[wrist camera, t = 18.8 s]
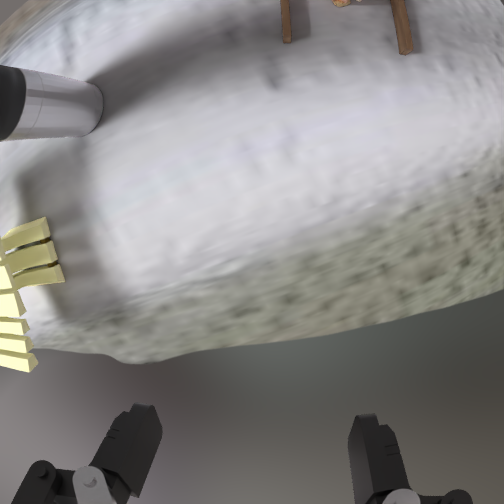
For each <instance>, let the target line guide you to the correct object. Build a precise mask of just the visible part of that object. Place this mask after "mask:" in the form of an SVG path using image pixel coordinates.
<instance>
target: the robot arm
mask: <svg viewBox="0 0 504 504" xmlns="http://www.w3.org/2000/svg"><path fill="white" fill-rule="evenodd" d="M102 111H103V97H102V93H101V92H100V90H99V89H98V88H97V87H96V86H95V85H93V84H90V83H86V82H82V81H79V80H75V79H71V78H66V77H62V76H57V75H53V74H48V73H43V72H38V71H33V70H27V69H21V68H15V67H8V66H3V65H0V142H2V141H12V140H22V139H37V138H59V137H82V136H85V135H87V134H88V133H90V132H91V131H92V130H93V129H94V128H95V127H96V125H97V123H98V122H99V120H100V117H101V115H102ZM161 439H162V425H161V423H160V420H159V418H158V415H157V412H156V410H155V407H154V406H153V405H149V404H144V403H138V402H136V403H134V404H133V406H132V408H131V410H130V412H125V411H124V412H122V413H121V414H120V415H119V416H118V417H117V418H115V420H114V421H113V423H112V425H111V427H110V430H109V431H108V432H107V434H106V437H105V438H104V440H103V441H102V443H101V445H100V447H99V449H98V451H97V453H96V455H95V456H94V458H93V460H92V462H91V463H90V464H89V465H88V466H84V467H81V468H79V469H78V470H77V471H71V470H62V469H56V468H55V467H54V466H53V465H52V464H51V463H50V462H48V461H45V460H40V461H37V462H35V463H33V464H32V466H31V467H30V469H29V471H28V472H27V474H26V476H25V478H24V480H23V481H22V483H21V486H20V487H19V489H18V491H17V493H16V495H15V497H14V499H13V501H12V503H11V504H128V499H129V497H130V495H131V496H134V497H137V498H139V496H140V493H141V491H142V488H143V485H144V483H145V480H146V478H147V475H148V472H149V469H150V467H151V464H152V462H153V459H154V457H155V454H156V452H157V449H158V446H159V444H160V441H161ZM348 454H349V460H350V468H351V475H352V482H353V490H354V499H355V504H473V502H472V499H471V496H470V495H469V494H468V493H467V492H466V491H464V490H459V489H457V490H452V491H450V492H448V493H447V494H446V495H445V496H422V495H419V494H417V493H415V492H414V491H413V490H412V489H411V488H410V486H409V483H408V479H407V475H406V472H405V468H404V464H403V460H402V457H401V454H400V450H399V446H398V443H397V440H396V436H395V433H394V432H393V431H392V430H391V428H390V427H389V426H388V425H379V423H378V420H377V416H376V415H375V414H364V415H356V417H355V419H354V422H353V426H352V428H351V431H350V434H349V437H348Z"/></svg>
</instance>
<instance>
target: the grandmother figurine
mask: <svg viewBox="0 0 504 504" xmlns="http://www.w3.org/2000/svg"><path fill="white" fill-rule="evenodd" d="M332 1H333V3H334V4H335V5H336V6H338V7H343V6H346V5H349V4H350V3H351V2H350V0H332ZM356 1H358V2H360V1H362V0H356Z"/></svg>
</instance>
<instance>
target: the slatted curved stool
mask: <svg viewBox="0 0 504 504" xmlns="http://www.w3.org/2000/svg"><path fill="white" fill-rule="evenodd" d="M49 236H51V235H50V231H49V227H48V224H47V220H46V217H43V218H40V219H37V220H34V221H32V222H29V223H26V224H23V225H21V226H18V227H15V228H13V229H11V230H10V231H8V232H7V233H6V234H5V235H4V236H3V237H2V238H0V365H1V366H5V367H9V368H13V369H17V370H21V371H25V372H31V370H32V369H33V368H34V367H35V366H36V365H37V364H38V361H37V360H36V358H35V356H34V354H31V353H28V352H29V351H30V350H31V349H32V348H33V347H34V345H33V343H32V341H31V339H30V337H27V336H19V335H14V334H20V335H24V334H25V333H26V332H27V331H28V330H30V328H29V326H28V324H27V321H26V319H14V318H8V317H20V316H21V315H23V314H24V313H25V312H26V309H25V307H24V304H23V302H22V299H21V297H20V294H19V292H18V291H17V290H18V289H20V288H22V287H25V286H38V285H46V284H54V283H62V282H66V281H65V279H64V276H63V273H62V270H61V267H60V264H57V262H56V260H57V259H58V258H57V255H56V252H55V248H54V245H53V242H52V241H50V239H49ZM38 240H40V243H41V244H37V245H33V246H30V247H26V248H23V249H19V250H16V251H13V252H11V253H8V254H6V255H5V252H6V251H8V250H11V249H13V248H16V247H19V246H22V245H25V244H28V243H31V242H35V241H38ZM43 264H47V265H48V266H45V267H40V268H35V269H29V270H24V271H21V272H18V273H16V274H13V273H15V272H17V271H20V270H23V269H27V268H30V267H34V266H39V265H43ZM12 274H13V275H12Z"/></svg>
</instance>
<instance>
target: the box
mask: <svg viewBox="0 0 504 504" xmlns="http://www.w3.org/2000/svg"><path fill="white" fill-rule="evenodd" d="M280 2H281V15H282V30H283V43H291V24H290V12H289V0H280ZM390 2H391V6H392V11H393V16H394V22H395V27H396V33H397V39H398V46H399V54H402V55H407V54H408V53H410V52H411V51H412V50H413V43H412V37H411V31H410V26H409V21H408V16H407V11H406V7H405V2H404V0H390Z"/></svg>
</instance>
